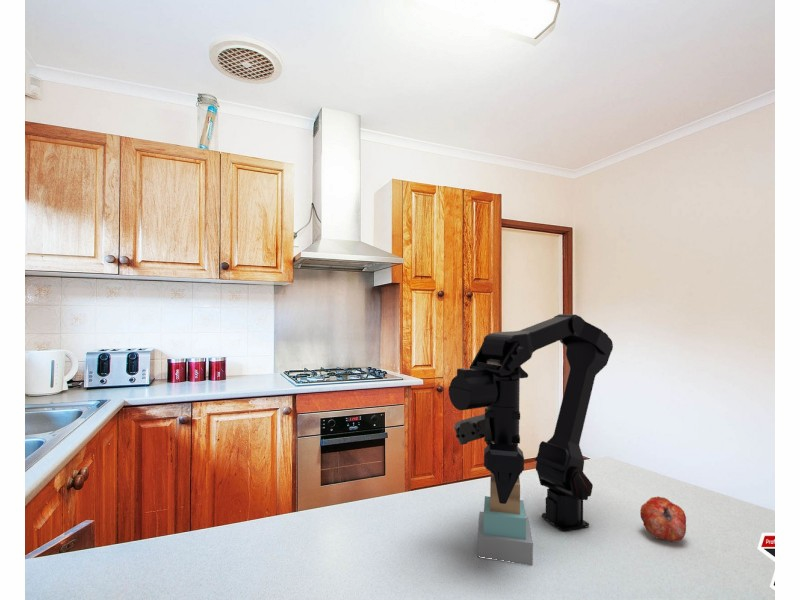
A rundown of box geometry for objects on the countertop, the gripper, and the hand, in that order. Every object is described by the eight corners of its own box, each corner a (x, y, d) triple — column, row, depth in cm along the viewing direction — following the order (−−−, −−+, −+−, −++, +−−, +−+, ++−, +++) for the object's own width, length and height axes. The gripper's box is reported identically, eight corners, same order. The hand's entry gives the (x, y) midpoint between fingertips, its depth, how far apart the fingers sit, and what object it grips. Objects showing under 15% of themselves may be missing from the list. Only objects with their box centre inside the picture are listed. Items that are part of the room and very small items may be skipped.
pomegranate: (637, 537, 83) (636, 523, 77) (643, 500, 87) (643, 484, 80) (682, 554, 79) (686, 541, 72) (686, 514, 82) (690, 498, 76)
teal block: (484, 514, 79) (484, 496, 79) (523, 519, 78) (523, 500, 78) (483, 534, 73) (483, 513, 73) (525, 539, 71) (526, 518, 71)
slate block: (479, 532, 81) (479, 511, 81) (528, 538, 79) (528, 517, 79) (477, 559, 72) (477, 536, 72) (532, 567, 70) (532, 543, 70)
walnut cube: (490, 498, 78) (490, 471, 79) (518, 501, 77) (518, 474, 77) (490, 510, 74) (490, 482, 74) (520, 514, 72) (520, 485, 73)
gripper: (461, 391, 87) (460, 468, 86) (453, 413, 68) (451, 510, 68) (517, 394, 84) (516, 473, 84) (524, 418, 66) (523, 519, 66)
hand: (502, 491), depth 75 cm, fingers open, 9 cm apart
